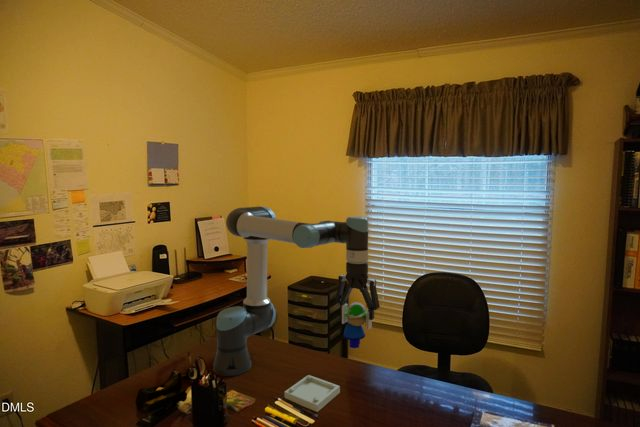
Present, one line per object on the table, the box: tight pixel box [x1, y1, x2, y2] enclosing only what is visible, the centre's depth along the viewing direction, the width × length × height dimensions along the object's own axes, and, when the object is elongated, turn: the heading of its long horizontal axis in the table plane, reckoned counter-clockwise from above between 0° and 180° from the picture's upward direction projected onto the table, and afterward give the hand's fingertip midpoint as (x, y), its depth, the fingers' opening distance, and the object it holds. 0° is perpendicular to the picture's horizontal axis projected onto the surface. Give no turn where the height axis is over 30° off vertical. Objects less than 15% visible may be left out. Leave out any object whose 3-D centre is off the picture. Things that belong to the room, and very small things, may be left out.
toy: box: [342, 302, 368, 349], centre depth 127 cm, size 9×9×15 cm
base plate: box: [284, 374, 341, 413], centre depth 128 cm, size 14×14×3 cm
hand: (356, 325), depth 127 cm, fingers closed on toy, 9 cm apart
